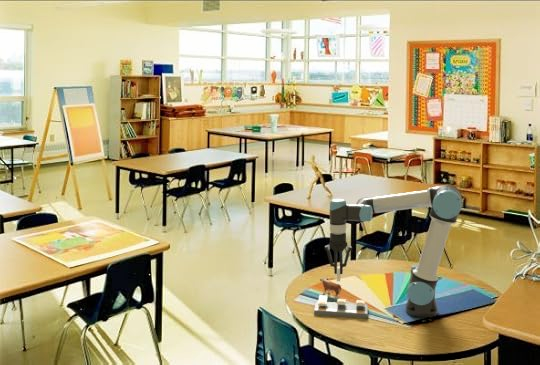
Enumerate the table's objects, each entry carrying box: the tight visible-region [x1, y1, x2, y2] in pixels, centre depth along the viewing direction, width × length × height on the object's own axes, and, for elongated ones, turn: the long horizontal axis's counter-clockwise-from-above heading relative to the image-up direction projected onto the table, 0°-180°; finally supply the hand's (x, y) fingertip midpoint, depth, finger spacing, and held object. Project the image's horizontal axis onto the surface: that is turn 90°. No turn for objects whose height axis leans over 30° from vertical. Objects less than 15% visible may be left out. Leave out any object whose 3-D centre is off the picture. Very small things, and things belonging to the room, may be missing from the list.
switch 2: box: [355, 299, 366, 306], centre depth 283 cm, size 4×7×1 cm, turn 170°
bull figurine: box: [319, 277, 342, 299], centre depth 304 cm, size 4×13×8 cm, turn 42°
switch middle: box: [336, 298, 347, 305], centre depth 284 cm, size 4×7×1 cm, turn 170°
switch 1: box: [317, 294, 328, 306], centre depth 286 cm, size 4×7×1 cm, turn 170°
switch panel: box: [313, 300, 369, 319], centre depth 284 cm, size 25×12×4 cm, turn 80°
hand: (338, 280), depth 279 cm, fingers closed
